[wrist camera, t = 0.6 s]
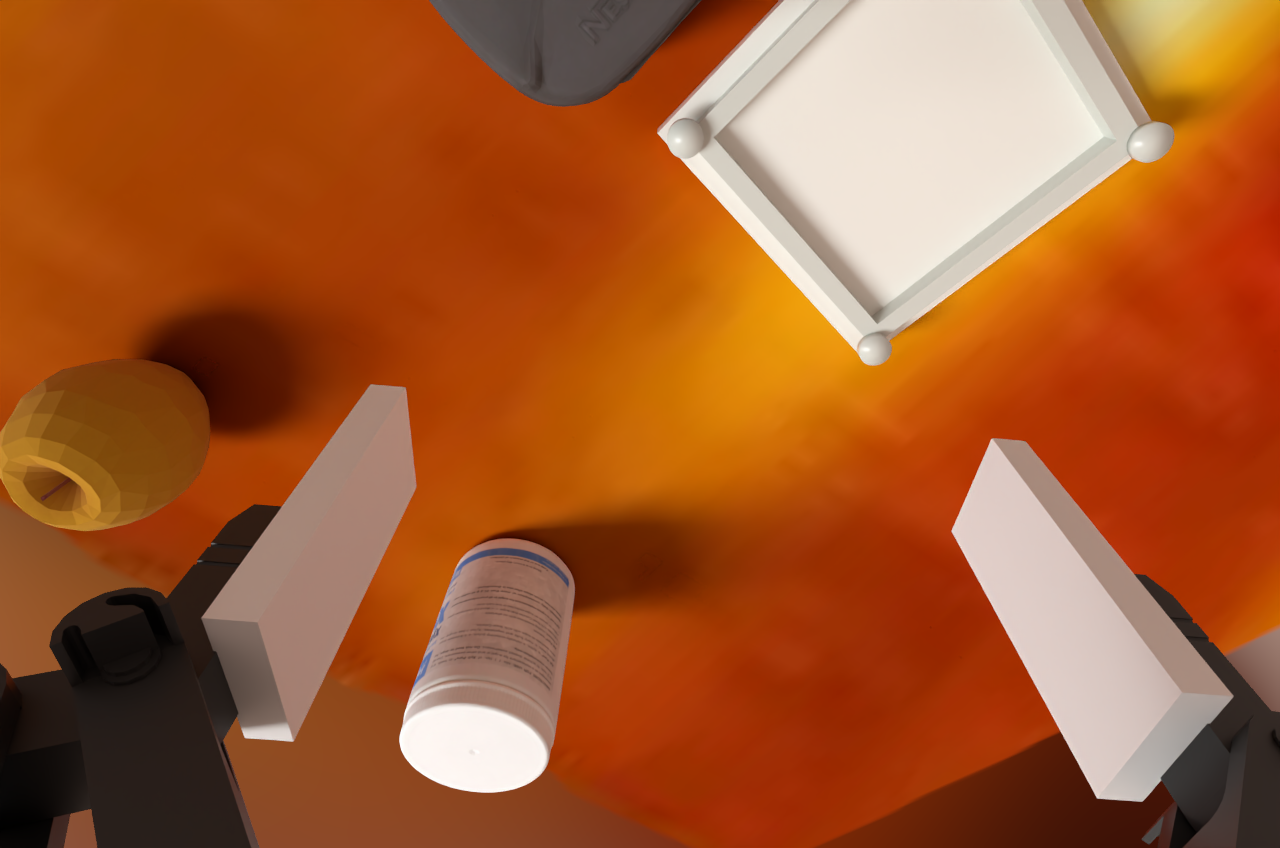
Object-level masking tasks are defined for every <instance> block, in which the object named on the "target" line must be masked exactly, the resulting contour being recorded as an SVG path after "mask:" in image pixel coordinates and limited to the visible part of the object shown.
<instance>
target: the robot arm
mask: <svg viewBox="0 0 1280 848" xmlns="http://www.w3.org/2000/svg"><path fill="white" fill-rule="evenodd" d="M415 489H416V479H415V469H414V460H413V451H412V441H411V432H410V423H409V413H408V404H407V394H406V387H395V386H383V385H372V384H371V385H370V386H369V387H368V389H367V390H366V391H365V393H364V394H363V396H362V397H361V398H360V400H359V401H358V402H357V404H356V405H355V407H354V408H353V409H352V411H351V412H350V414H349V415H348V416H347V418H346V419H345V420H344V422H343V423H342V425H341V426H340V427H339V429H338V430H337V431H336V433H335V434H334V436H333V437H332V438H331V440H330V441H329V443H328V444H327V445H326V447H325V448H324V449H323V451H322V452H321V454H320V455H319V456H318V458H317V459H316V460H315V462H314V463H313V465H312V466H311V467H310V469H309V470H308V471H307V473H306V474H305V476H304V477H303V478H302V480H301V481H300V483H299V484H298V485H297V487H296V488H295V489H294V491H293V492H292V494H291V495H290V496H289V498H288V499H287V500H286V502H285V503H284V505H283V506H282V507H280V506H268V505H256V504H254V505H253V506H251V507H250V508H248V509H247V510H245V511H244V512H242V513H241V514H239V515H238V516H236V517H235V518H233V519H232V520H230V521H229V522H228V523H227V524H226V525H225V526H224V528H223V529H222V530H221V531H220V533H219V534H218V535H217V536H216V538H215V539H214V540H213V541H212V543H211V547H208V548H207V549H206V550H205V551H204V553H203V554H202V555H201V556H200V557H199V559H198V560H197V561H198V562H197V564H196V565H193V566H192V567H191V569H190V570H189V571H188V572H187V574H186V575H185V576H184V577H183V579H182V580H181V581H180V582H179V584H178V585H177V586H176V587H175V589H174V590H173V591H172V592H171V594H170V595H169V596H168V597H167V598H165V597H164V596H163V594H162V593H161V592H158V591H155V590H152V589H149V588H124V589H120V590H115V591H112V592H107V593H104V594H102V595H99V596H97V597H95V598H93V599H90V600H88V601H86V602H84V603H82V604H81V605H79V606H78V607H77V608H75V609H74V610H73V611H71V612H70V613H68V614H67V615H66V616H65V617H64V618H63V619H62V620H61V622H60V623H59V624H58V625H57V627H56V628H55V629H54V630H53V632H52V636H51V641H50V648H51V650H52V652H53V654H54V655H55V657H56V659H57V661H58V663H59V664H60V666H61V668H62V670H57V671H51V672H46V673H40V674H35V675H29V676H24V677H18V678H11V676H10V674H9V673H8V671H7V670H6V669H5V668H4V667H3V666H2V665H1V664H0V848H64V843H65V838H66V833H67V827H68V823H69V817H70V814H71V813H75V812H79V811H84V810H88V809H91V810H92V816H93V822H94V828H95V835H96V841H97V847H98V848H259V845H258V842H257V839H256V837H255V833H254V830H253V827H252V825H251V822H250V818H249V816H248V812H247V809H246V806H245V803H244V800H243V797H242V795H241V791H240V788H239V785H238V782H237V779H236V777H235V773H234V770H233V767H232V764H231V761H230V758H229V755H228V752H227V749H226V747H225V744H224V741H223V739H224V738H225V736H226V734H227V732H228V730H229V729H230V727H231V725H232V724H233V722H234V720H235V719H236V717H238V721H239V723H240V726H241V729H242V731H243V734H244V737H245V738H253V739H268V740H281V741H294V739H295V737H296V735H297V733H298V731H299V729H300V727H301V725H302V723H303V721H304V719H305V717H306V714H307V712H308V710H309V708H310V706H311V704H312V702H313V700H314V697H315V696H316V694H317V692H318V690H319V687H320V685H321V683H322V681H323V679H324V677H325V675H326V673H327V671H328V669H329V667H330V665H331V663H332V661H333V659H334V657H335V654H336V652H337V650H338V648H339V646H340V644H341V642H342V640H343V638H344V636H345V634H346V632H347V630H348V628H349V625H350V623H351V621H352V619H353V617H354V615H355V613H356V611H357V609H358V607H359V605H360V603H361V601H362V599H363V596H364V594H365V592H366V590H367V588H368V586H369V584H370V582H371V580H372V578H373V576H374V574H375V572H376V570H377V568H378V565H379V563H380V561H381V559H382V557H383V555H384V553H385V551H386V549H387V547H388V545H389V543H390V541H391V539H392V536H393V534H394V532H395V530H396V528H397V526H398V524H399V522H400V520H401V518H402V516H403V514H404V512H405V510H406V507H407V505H408V503H409V501H410V499H411V497H412V495H413V493H414V491H415ZM952 533H953V535H954V536H955V538H956V540H957V542H958V544H959V546H960V547H961V549H962V551H963V553H964V555H965V557H966V558H967V560H968V562H969V564H970V566H971V568H972V569H973V571H974V573H975V575H976V577H977V579H978V580H979V582H980V584H981V586H982V588H983V590H984V591H985V593H986V595H987V597H988V599H989V601H990V602H991V604H992V606H993V608H994V610H995V612H996V613H997V615H998V617H999V619H1000V621H1001V623H1002V624H1003V626H1004V628H1005V630H1006V632H1007V634H1008V635H1009V637H1010V639H1011V641H1012V643H1013V645H1014V646H1015V648H1016V650H1017V652H1018V654H1019V656H1020V657H1021V659H1022V661H1023V663H1024V665H1025V667H1026V668H1027V670H1028V672H1029V674H1030V676H1031V678H1032V679H1033V681H1034V683H1035V685H1036V687H1037V689H1038V690H1039V692H1040V694H1041V696H1042V698H1043V700H1044V701H1045V703H1046V705H1047V707H1048V709H1049V711H1050V712H1051V714H1052V716H1053V718H1054V720H1055V722H1056V723H1057V725H1058V727H1059V729H1060V731H1061V733H1062V734H1063V736H1064V738H1065V740H1066V742H1067V744H1068V745H1069V747H1070V749H1071V751H1072V753H1073V755H1074V756H1075V758H1076V760H1077V762H1078V764H1079V766H1080V767H1081V769H1082V771H1083V773H1084V775H1085V777H1086V778H1087V780H1088V782H1089V784H1090V786H1091V788H1092V789H1093V791H1094V793H1095V795H1096V797H1097V798H1099V799H1113V800H1128V801H1141V802H1142V801H1143V800H1144V799H1145V798H1146V797H1147V796H1148V795H1149V794H1150V792H1151V791H1152V790H1153V789H1154V788H1155V787H1156V785H1157V784H1158V783H1159V782H1160V781H1161V780H1162V781H1163V783H1164V784H1165V786H1166V788H1167V789H1168V790H1169V792H1170V794H1171V796H1172V797H1173V799H1174V800H1175V801H1174V802H1173V803H1172V804H1171V805H1170V807H1169V808H1168V809H1167V810H1166V811H1165V812H1164V813H1163V814H1162V815H1161V816H1160V817H1159V819H1158V820H1157V821H1156V822H1155V823H1154V824H1153V825H1152V826H1151V827H1150V828H1149V830H1148V831H1147V832H1146V833H1145V835H1144V837H1143V838H1142V840H1143V841H1145V842H1146V843H1148V844H1150V843H1151V842H1152V841H1153V840H1154V839H1155V838H1156V837H1157V836H1160V837H1159V842H1158V847H1157V848H1280V712H1274V711H1271V710H1270V709H1269V708H1268V707H1267V705H1266V704H1265V703H1264V702H1263V701H1262V700H1261V698H1260V697H1259V696H1258V695H1257V694H1256V693H1255V691H1254V690H1253V689H1252V688H1251V687H1250V686H1249V684H1248V683H1247V682H1246V681H1245V680H1244V679H1243V677H1242V676H1241V675H1240V674H1239V673H1238V671H1237V670H1236V669H1235V668H1234V667H1233V666H1232V664H1231V663H1230V662H1229V661H1228V660H1227V659H1226V657H1225V656H1224V655H1223V654H1222V653H1221V652H1220V650H1219V649H1218V648H1217V647H1216V646H1215V645H1214V643H1212V642H1209V641H1208V638H1209V637H1208V636H1207V635H1206V634H1205V633H1204V632H1203V630H1202V629H1201V628H1200V627H1199V626H1198V625H1197V623H1193V622H1192V620H1193V619H1192V618H1191V616H1190V615H1189V614H1188V613H1187V612H1186V610H1185V609H1184V608H1183V607H1182V606H1181V605H1180V603H1179V602H1178V601H1177V600H1176V599H1175V598H1174V596H1173V595H1171V594H1170V593H1169V592H1167V591H1166V590H1165V589H1163V588H1162V587H1161V586H1159V585H1158V584H1157V583H1155V582H1154V581H1153V580H1151V579H1150V578H1149V577H1147V576H1146V575H1140V574H1133V572H1132V571H1131V570H1130V569H1129V568H1128V566H1127V565H1126V564H1125V563H1124V561H1123V560H1122V559H1121V558H1120V557H1119V555H1118V554H1117V553H1116V552H1115V550H1114V549H1113V548H1112V547H1111V546H1110V544H1109V543H1108V542H1107V541H1106V539H1105V538H1104V537H1103V536H1102V535H1101V533H1100V532H1099V531H1098V530H1097V528H1096V527H1095V526H1094V525H1093V523H1092V522H1091V521H1090V520H1089V519H1088V517H1087V516H1086V515H1085V514H1084V512H1083V511H1082V510H1081V509H1080V508H1079V506H1078V505H1077V504H1076V503H1075V501H1074V500H1073V499H1072V498H1071V497H1070V495H1069V494H1068V493H1067V492H1066V490H1065V489H1064V488H1063V487H1062V486H1061V484H1060V483H1059V482H1058V481H1057V479H1056V478H1055V477H1054V476H1053V475H1052V473H1051V472H1050V471H1049V470H1048V468H1047V467H1046V466H1045V465H1044V464H1043V462H1042V461H1041V460H1040V459H1039V457H1038V456H1037V455H1036V454H1035V453H1034V451H1033V450H1032V449H1031V448H1030V446H1029V445H1028V444H1027V443H1026V442H1025V441H1018V440H1006V439H995V438H992V439H991V442H990V444H989V446H988V448H987V451H986V453H985V455H984V458H983V460H982V462H981V465H980V467H979V469H978V471H977V474H976V476H975V478H974V481H973V483H972V485H971V488H970V490H969V492H968V495H967V497H966V499H965V501H964V504H963V506H962V508H961V511H960V513H959V515H958V518H957V520H956V522H955V524H954V527H953V529H952Z"/></svg>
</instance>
